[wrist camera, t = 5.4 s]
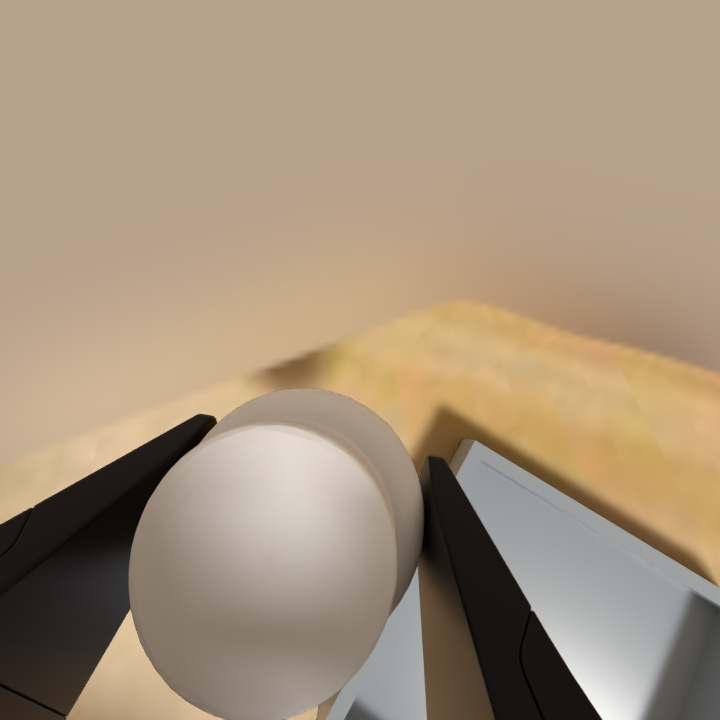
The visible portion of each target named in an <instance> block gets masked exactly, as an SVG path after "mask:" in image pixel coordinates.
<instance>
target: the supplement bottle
mask: <svg viewBox="0 0 720 720" xmlns="http://www.w3.org/2000/svg"><path fill="white" fill-rule="evenodd" d="M423 536H424V503H423V495H422V490H421V486H420V482H419V478H418V475H417V472H416V469H415V466H414V464H413V462H412V460H411V458H410V456H409V454H408V452H407V450H406V448H405V446H404V445H403V443H402V442H401V440H400V439H399V437H398V436H397V435H396V433H395V432H394V431H393V429H392V428H391V427H390V426H389V425H388V423H386V422H385V421H384V420H383V419H382V418H381V417H379V416H378V415H377V414H376V413H375V412H373V411H372V410H370V409H369V408H367V407H366V406H364V405H363V404H361V403H359V402H357V401H355V400H353V399H351V398H349V397H347V396H344V395H341V394H338V393H335V392H331V391H326V390H320V389H307V388H297V389H286V390H280V391H276V392H272V393H268V394H265V395H262V396H260V397H257V398H255V399H252V400H250V401H248V402H246V403H245V404H243V405H241V406H240V407H238V408H236V409H235V410H233V411H232V412H231V413H229V414H228V415H227V416H225V417H224V418H223V419H222V420H221V421H219V422H218V423H217V424H216V425H215V426H214V427H213V428H212V429H211V430H210V431H209V432H208V434H207V435H206V436H205V437H204V438H203V440H202V441H201V442H200V443H199V445H197V446H196V447H195V448H193V449H192V450H191V451H189V452H188V453H187V454H186V455H184V456H183V457H182V458H181V459H180V460H179V461H178V462H177V463H176V464H175V465H174V466H173V467H172V468H171V469H170V470H169V472H168V473H167V474H166V475H165V476H164V478H163V479H162V480H161V482H160V483H159V485H158V486H157V488H156V489H155V491H154V492H153V494H152V496H151V497H150V499H149V500H148V502H147V505H146V507H145V509H144V511H143V513H142V516H141V519H140V521H139V524H138V526H137V529H136V532H135V536H134V540H133V544H132V549H131V556H130V563H129V581H128V584H129V598H130V608H131V612H132V616H133V620H134V624H135V628H136V631H137V634H138V637H139V640H140V643H141V645H142V647H143V649H144V651H145V653H146V655H147V656H148V658H149V660H150V661H151V663H152V665H153V666H154V668H155V669H156V671H157V672H158V673H159V675H160V676H161V677H162V678H163V680H164V681H165V682H166V683H167V684H168V686H169V687H170V688H171V689H172V690H173V691H175V692H176V693H177V694H178V695H179V696H181V697H182V698H183V699H184V700H185V701H187V702H189V703H190V704H192V705H194V706H195V707H197V708H199V709H201V710H203V711H205V712H207V713H209V714H212V715H214V716H216V717H220V718H223V719H227V720H283V719H287V718H290V717H293V716H296V715H299V714H301V713H304V712H306V711H308V710H310V709H312V708H314V707H316V706H318V705H319V704H321V703H323V702H324V701H326V700H327V699H329V698H330V697H331V696H333V695H334V694H335V693H337V692H338V691H339V690H340V689H342V688H343V687H344V686H345V685H346V684H347V683H348V682H349V681H350V680H351V679H352V678H353V676H354V675H355V674H356V673H357V672H358V671H359V670H360V669H361V667H362V666H363V665H364V663H365V662H366V660H367V659H368V657H369V656H370V654H371V653H372V651H373V650H374V648H375V646H376V644H377V642H378V640H379V638H380V636H381V634H382V632H383V630H384V628H385V625H386V622H387V619H388V618H389V616H390V615H391V614H392V613H393V611H394V610H395V608H396V607H397V606H398V604H399V603H400V601H401V600H402V598H403V596H404V595H405V593H406V591H407V589H408V587H409V586H410V584H411V581H412V579H413V576H414V574H415V571H416V569H417V566H418V563H419V559H420V554H421V549H422V543H423Z"/></svg>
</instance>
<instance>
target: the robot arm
mask: <svg viewBox="0 0 720 720" xmlns="http://www.w3.org/2000/svg"><path fill="white" fill-rule="evenodd" d="M216 424H217V420H216V418H215V417H214V416H211V415H205V414H198V415H196V416H194V417H192V418H190V419H189V420H187V421H185V422H183V423H181V424H180V425H178V426H176V427H174V428H172V429H171V430H169V431H167V432H165V433H164V434H162V435H160V436H158V437H156V438H155V439H153V440H151V441H149V442H147V443H146V444H144V445H142V446H140V447H139V448H137V449H135V450H133V451H131V452H130V453H128V454H126V455H124V456H122V457H121V458H119V459H117V460H115V461H114V462H112V463H110V464H108V465H106V466H105V467H103V468H101V469H99V470H97V471H96V472H94V473H92V474H90V475H88V476H87V477H85V478H83V479H81V480H80V481H78V482H76V483H74V484H72V485H71V486H69V487H67V488H65V489H63V490H62V491H60V492H58V493H56V494H55V495H53V496H51V497H49V498H47V499H46V500H44V501H42V502H40V503H38V504H37V505H35V506H34V508H29V509H28V510H26V511H24V512H22V513H20V514H19V515H17V516H15V517H13V518H11V519H10V520H8V521H6V522H4V523H2V524H1V525H0V720H66V716H67V715H68V714H69V713H70V711H71V709H72V708H73V706H74V704H75V702H76V701H77V699H78V697H79V696H80V694H81V692H82V691H83V689H84V687H85V685H86V684H87V682H88V680H89V679H90V677H91V675H92V673H93V672H94V670H95V668H96V667H97V665H98V663H99V661H100V660H101V658H102V656H103V655H104V653H105V651H106V649H107V648H108V646H109V644H110V643H111V641H112V639H113V637H114V636H115V634H116V632H117V631H118V629H119V627H120V625H121V624H122V622H123V620H124V619H125V617H126V615H127V613H128V612H129V610H130V598H129V584H128V581H129V563H130V556H131V549H132V544H133V540H134V536H135V532H136V529H137V526H138V524H139V521H140V519H141V516H142V513H143V511H144V509H145V507H146V505H147V502H148V500H149V499H150V497H151V496H152V494H153V492H154V491H155V489H156V488H157V486H158V485H159V483H160V482H161V480H162V479H163V478H164V476H165V475H166V474H167V473H168V472H169V470H170V469H171V468H172V467H173V466H174V465H175V464H176V463H177V462H178V461H179V460H180V459H181V458H182V457H183V456H184V455H186V454H187V453H188V452H189V451H191V450H192V449H193V448H195V447H196V446H197V445H199V443H200V442H201V441H202V440H203V438H204V437H205V436H206V435H207V434H208V432H209V431H210V430H211V429H212V428H213V427H214V426H215V425H216ZM419 482H420V486H421V490H422V495H423V503H424V536H423V543H422V549H421V554H420V559H419V563H418V580H419V596H420V613H421V630H422V646H423V663H424V679H425V696H426V713H427V720H603V719H602V718H601V717H600V715H599V714H598V712H597V711H596V709H595V708H594V706H593V705H592V703H591V702H590V700H589V699H588V697H587V695H586V694H585V692H584V691H583V689H582V688H581V686H580V685H579V683H578V682H577V680H576V679H575V677H574V676H573V674H572V673H571V671H570V670H569V668H568V666H567V665H566V663H565V662H564V660H563V658H562V657H561V655H560V653H559V652H558V650H557V648H556V647H555V645H554V644H553V642H552V640H551V639H550V637H549V635H548V634H547V632H546V630H545V629H544V627H543V625H542V623H541V622H540V620H539V618H538V617H537V615H536V613H535V612H534V611H533V610H531V605H530V603H529V601H528V600H527V598H526V596H525V595H524V593H523V591H522V590H521V588H520V586H519V584H518V583H517V581H516V579H515V578H514V576H513V574H512V572H511V571H510V569H509V567H508V566H507V564H506V562H505V561H504V559H503V557H502V555H501V554H500V552H499V550H498V549H497V547H496V545H495V544H494V542H493V540H492V538H491V537H490V535H489V533H488V532H487V530H486V528H485V526H484V525H483V523H482V521H481V520H480V518H479V516H478V515H477V513H476V511H475V509H474V508H473V506H472V504H471V503H470V501H469V499H468V497H467V496H466V494H465V492H464V491H463V489H462V487H461V486H460V484H459V482H458V480H457V479H456V477H455V475H454V474H453V472H452V470H451V468H450V467H449V465H448V463H447V462H446V460H445V459H444V458H443V457H441V456H435V455H428V456H427V457H426V460H425V463H424V466H423V469H422V472H421V475H420V481H419Z"/></svg>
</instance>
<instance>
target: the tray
mask: <svg viewBox="0 0 720 720" xmlns="http://www.w3.org/2000/svg"><path fill="white" fill-rule="evenodd" d="M449 467H450V468H451V470H452V472H453V474H454V475H455V477H456V479H457V480H458V482H459V484H460V486H461V487H462V489H463V491H464V492H465V494H466V496H467V497H468V499H469V501H470V503H471V504H472V506H473V508H474V509H475V511H476V513H477V515H478V516H479V518H480V520H481V521H482V523H483V525H484V526H485V528H486V530H487V532H488V533H489V535H490V537H491V538H492V540H493V542H494V544H495V545H496V547H497V549H498V550H499V552H500V554H501V555H502V557H503V559H504V561H505V562H506V564H507V566H508V567H509V569H510V571H511V572H512V574H513V576H514V578H515V579H516V581H517V583H518V584H519V586H520V588H521V590H522V591H523V593H524V595H525V596H526V598H527V600H528V601H529V603H530V605H531V610H533V611H534V612H535V613H536V615H537V617H538V618H539V620H540V622H541V623H542V625H543V627H544V629H545V630H546V632H547V634H548V635H549V637H550V639H551V640H552V642H553V644H554V645H555V647H556V648H557V650H558V652H559V653H560V655H561V657H562V658H563V660H564V662H565V663H566V665H567V666H568V668H569V670H570V671H571V673H572V674H573V676H574V677H575V679H576V680H577V682H578V683H579V685H580V686H581V688H582V689H583V691H584V692H585V694H586V695H587V697H588V699H589V700H590V702H591V703H592V705H593V706H594V708H595V709H596V711H597V712H598V714H599V715H600V717H601V718H602V719H603V720H720V588H719V587H717V586H716V585H714V584H712V583H711V582H709V581H707V580H706V579H704V578H702V577H701V576H699V575H697V574H696V573H694V572H692V571H691V570H689V569H687V568H686V567H684V566H683V565H681V564H679V563H678V562H676V561H674V560H673V559H671V558H669V557H668V556H666V555H664V554H663V553H661V552H659V551H658V550H656V549H654V548H653V547H651V546H649V545H648V544H646V543H644V542H643V541H641V540H640V539H638V538H636V537H635V536H633V535H631V534H630V533H628V532H626V531H625V530H623V529H621V528H620V527H618V526H616V525H615V524H613V523H611V522H610V521H608V520H606V519H605V518H603V517H602V516H600V515H598V514H597V513H595V512H593V511H592V510H590V509H588V508H587V507H585V506H583V505H582V504H580V503H578V502H577V501H575V500H573V499H572V498H570V497H568V496H567V495H565V494H563V493H562V492H560V491H559V490H557V489H555V488H554V487H552V486H550V485H549V484H547V483H545V482H544V481H542V480H540V479H539V478H537V477H535V476H534V475H532V474H530V473H529V472H527V471H525V470H524V469H522V468H520V467H519V466H517V465H516V464H514V463H512V462H511V461H509V460H507V459H506V458H504V457H502V456H501V455H499V454H497V453H496V452H494V451H492V450H491V449H489V448H487V447H486V446H484V445H482V444H481V443H479V442H478V441H476V440H471V439H465V438H463V439H462V441H461V443H460V444H459V446H458V448H457V450H456V452H455V454H454V455H453V457H452V459H451V461H450V463H449ZM316 720H427V713H426V696H425V679H424V663H423V646H422V630H421V613H420V596H419V580H418V566H417V569H416V571H415V574H414V576H413V579H412V581H411V584H410V586H409V587H408V589H407V591H406V593H405V595H404V596H403V598H402V600H401V601H400V603H399V604H398V606H397V607H396V608H395V610H394V611H393V613H392V614H391V615H390V616H389V618H388V619H387V622H386V625H385V628H384V630H383V632H382V634H381V636H380V638H379V640H378V642H377V644H376V646H375V648H374V650H373V651H372V653H371V654H370V656H369V657H368V659H367V660H366V662H365V663H364V665H363V666H362V667H361V669H360V670H359V671H358V672H357V673H356V674H355V675H354V676H353V678H352V679H351V680H350V681H349V682H348V683H347V684H346V685H345V686H344V687H343V688H342V689H340V690H339V691H338V692H337V693H335V694H334V695H333V696H331V697H330V698H329V699H327V700H326V701H324V702H323V703H321V704H319V706H318V712H317V718H316Z"/></svg>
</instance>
